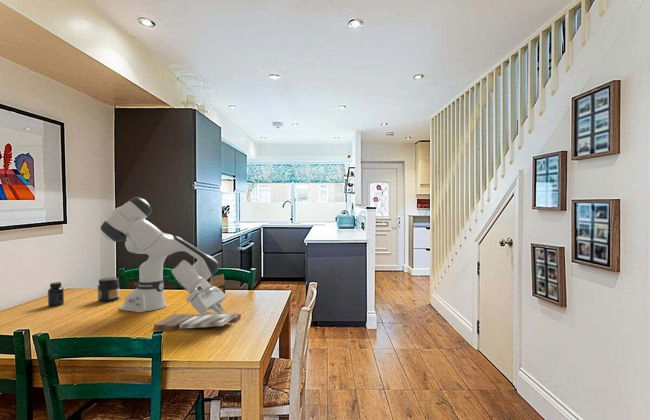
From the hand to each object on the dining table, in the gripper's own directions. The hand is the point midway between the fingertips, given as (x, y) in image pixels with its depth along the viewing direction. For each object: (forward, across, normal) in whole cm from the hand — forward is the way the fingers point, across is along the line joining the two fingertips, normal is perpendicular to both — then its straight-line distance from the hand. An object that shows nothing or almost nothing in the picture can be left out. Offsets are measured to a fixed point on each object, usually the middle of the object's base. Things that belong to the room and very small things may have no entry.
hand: (222, 312), depth 161 cm
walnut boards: (-4, -2, -13) cm, 14 cm away
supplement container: (-55, -31, -63) cm, 89 cm away
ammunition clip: (-15, -52, -25) cm, 59 cm away
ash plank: (-1, 0, -8) cm, 8 cm away
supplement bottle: (-69, -17, -76) cm, 105 cm away
